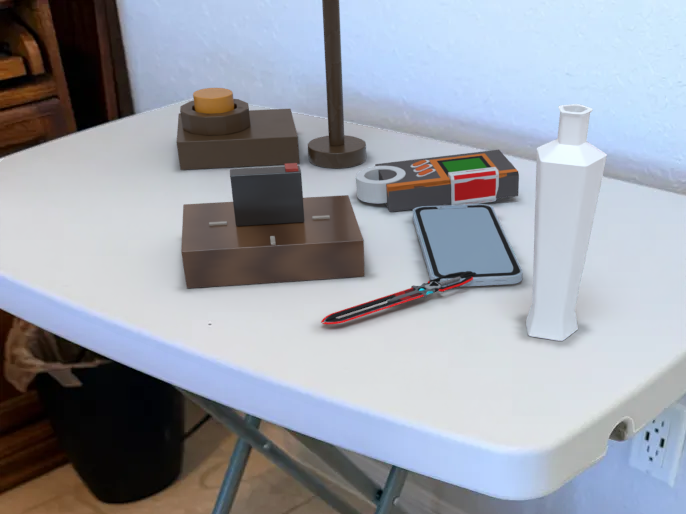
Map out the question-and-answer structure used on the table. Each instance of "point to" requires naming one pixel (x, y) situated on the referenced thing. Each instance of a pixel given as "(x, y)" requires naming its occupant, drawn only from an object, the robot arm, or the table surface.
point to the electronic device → (439, 181)
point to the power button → (213, 100)
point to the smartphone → (466, 244)
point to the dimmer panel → (271, 245)
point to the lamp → (335, 103)
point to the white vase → (563, 222)
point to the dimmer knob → (267, 195)
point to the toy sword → (400, 297)
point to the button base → (236, 137)
